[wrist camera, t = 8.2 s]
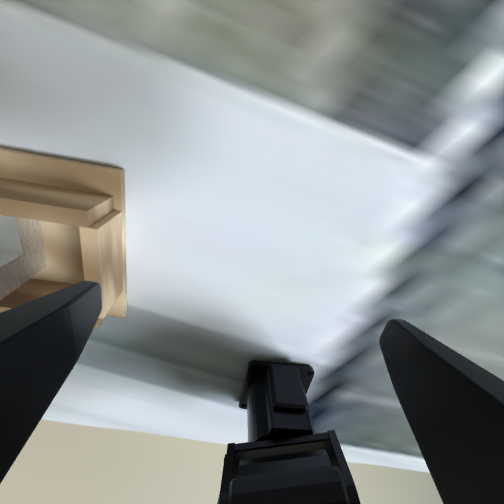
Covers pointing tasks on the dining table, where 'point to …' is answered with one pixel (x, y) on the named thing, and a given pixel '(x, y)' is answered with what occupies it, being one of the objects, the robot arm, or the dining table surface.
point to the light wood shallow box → (69, 224)
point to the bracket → (19, 252)
